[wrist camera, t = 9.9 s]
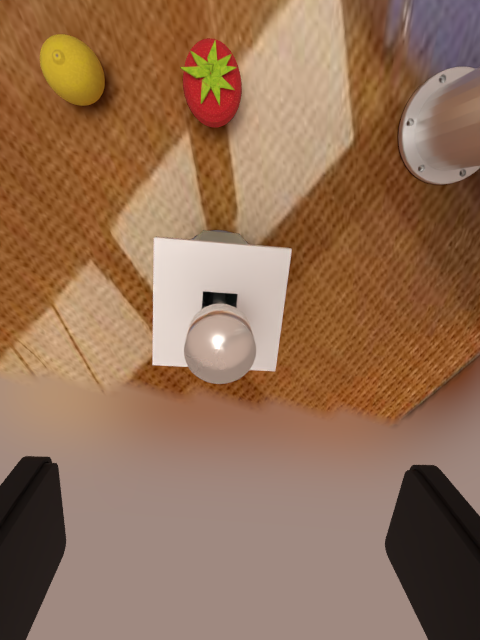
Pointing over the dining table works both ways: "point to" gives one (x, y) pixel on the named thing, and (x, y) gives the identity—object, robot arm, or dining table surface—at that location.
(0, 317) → the dining table surface
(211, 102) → the strawberry
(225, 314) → the plunger
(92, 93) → the lemon
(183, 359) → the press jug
